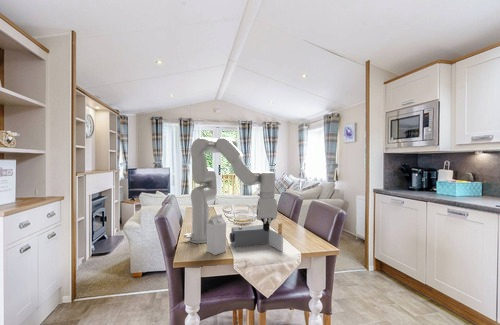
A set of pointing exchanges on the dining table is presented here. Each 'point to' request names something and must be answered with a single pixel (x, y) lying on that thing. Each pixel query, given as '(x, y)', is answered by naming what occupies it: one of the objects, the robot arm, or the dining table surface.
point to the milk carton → (216, 235)
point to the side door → (276, 238)
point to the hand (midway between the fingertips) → (266, 230)
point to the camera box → (249, 236)
